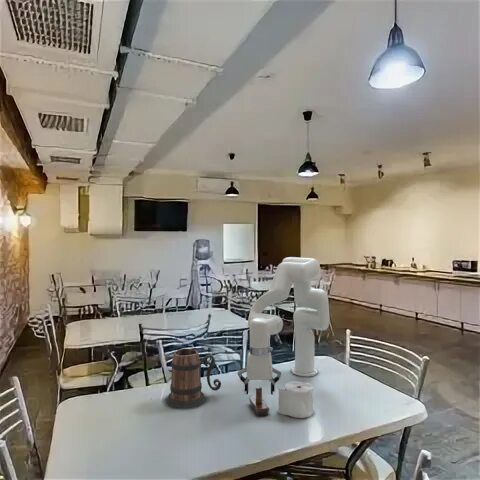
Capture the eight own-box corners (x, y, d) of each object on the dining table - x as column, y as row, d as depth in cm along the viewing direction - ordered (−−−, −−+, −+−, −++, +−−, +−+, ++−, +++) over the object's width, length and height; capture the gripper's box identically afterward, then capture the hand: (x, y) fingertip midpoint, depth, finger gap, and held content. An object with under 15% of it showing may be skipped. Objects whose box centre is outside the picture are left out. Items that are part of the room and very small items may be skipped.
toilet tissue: (318, 411, 159) (318, 386, 159) (299, 422, 150) (299, 395, 150) (295, 403, 166) (296, 379, 166) (277, 413, 158) (277, 387, 157)
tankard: (169, 411, 158) (169, 360, 158) (161, 394, 174) (161, 348, 173) (227, 402, 167) (227, 354, 166) (214, 387, 183) (214, 342, 182)
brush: (249, 404, 165) (249, 382, 165) (259, 403, 166) (259, 381, 166) (257, 416, 155) (257, 393, 154) (268, 415, 156) (269, 392, 156)
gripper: (280, 347, 163) (280, 389, 164) (237, 347, 164) (237, 389, 165) (282, 353, 156) (282, 397, 157) (236, 353, 156) (237, 397, 157)
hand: (259, 393), depth 161 cm, fingers open, 9 cm apart
